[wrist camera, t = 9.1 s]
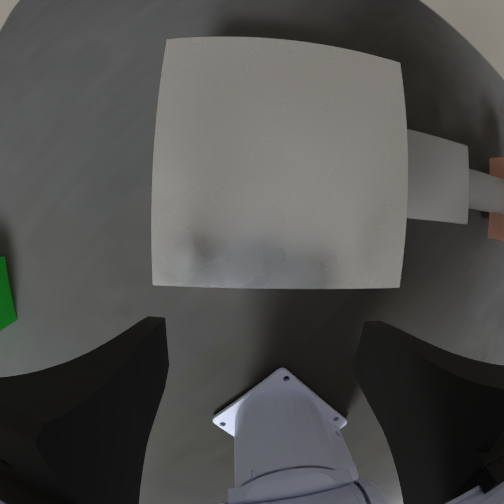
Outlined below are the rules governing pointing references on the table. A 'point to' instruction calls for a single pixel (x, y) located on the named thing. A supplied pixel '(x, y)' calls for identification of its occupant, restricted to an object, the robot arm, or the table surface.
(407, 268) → the table surface
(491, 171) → the rod with pink block
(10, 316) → the mechanical part
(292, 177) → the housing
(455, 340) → the table surface
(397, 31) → the table surface
